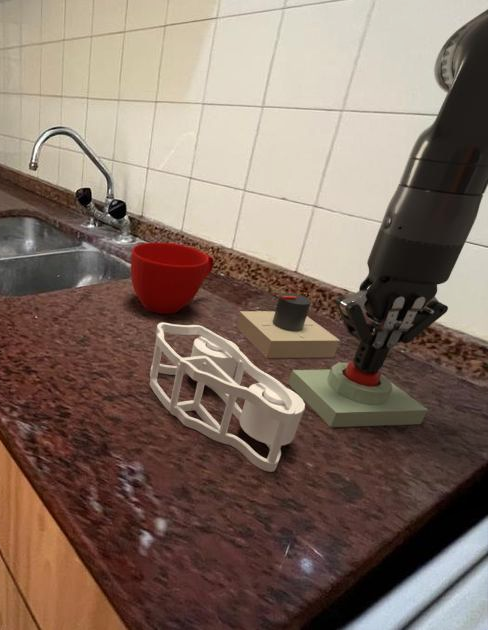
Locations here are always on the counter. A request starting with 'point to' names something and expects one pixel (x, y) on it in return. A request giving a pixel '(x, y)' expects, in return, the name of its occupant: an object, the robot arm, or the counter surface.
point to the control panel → (286, 337)
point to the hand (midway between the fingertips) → (364, 370)
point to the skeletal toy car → (228, 393)
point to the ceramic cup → (168, 275)
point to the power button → (361, 376)
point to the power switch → (355, 399)
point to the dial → (291, 311)
